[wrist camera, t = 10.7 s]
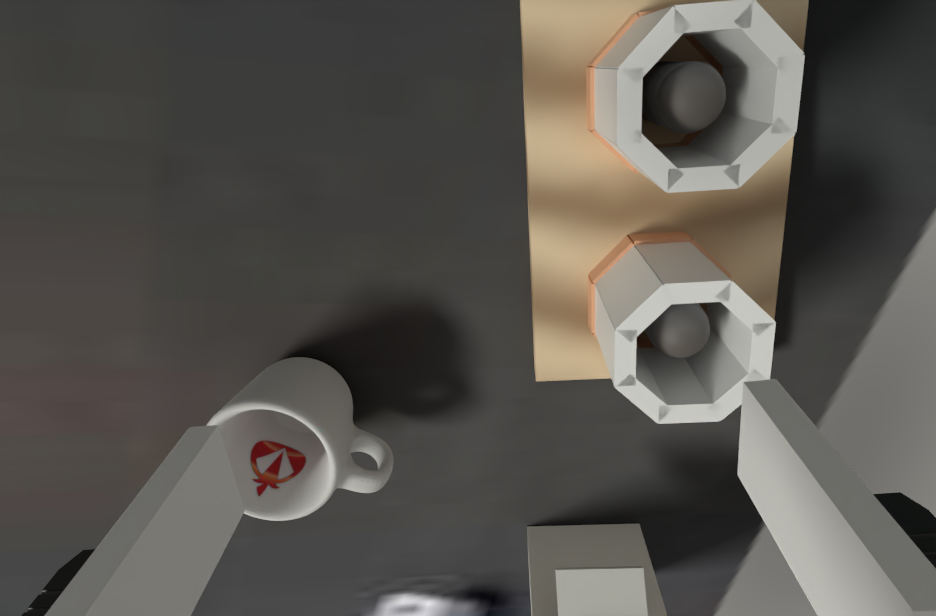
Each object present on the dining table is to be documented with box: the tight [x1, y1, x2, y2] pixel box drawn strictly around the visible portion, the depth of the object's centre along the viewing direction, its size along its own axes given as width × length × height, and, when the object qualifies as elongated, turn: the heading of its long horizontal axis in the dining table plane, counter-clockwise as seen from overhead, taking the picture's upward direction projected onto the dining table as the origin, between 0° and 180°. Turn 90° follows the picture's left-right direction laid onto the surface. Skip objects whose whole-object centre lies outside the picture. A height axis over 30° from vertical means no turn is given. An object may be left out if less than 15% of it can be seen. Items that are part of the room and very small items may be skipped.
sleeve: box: [588, 231, 776, 424], centre depth 33 cm, size 8×8×8 cm
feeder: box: [527, 524, 667, 616], centre depth 40 cm, size 9×8×13 cm
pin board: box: [520, 0, 809, 381], centre depth 32 cm, size 22×14×9 cm, turn 4°
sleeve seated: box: [586, 0, 805, 193], centre depth 29 cm, size 8×8×8 cm
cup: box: [206, 357, 393, 521], centre depth 39 cm, size 11×8×8 cm
